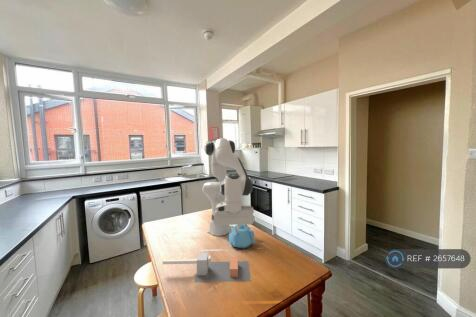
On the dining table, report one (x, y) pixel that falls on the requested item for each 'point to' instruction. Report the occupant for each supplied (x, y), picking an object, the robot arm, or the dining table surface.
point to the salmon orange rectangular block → (233, 267)
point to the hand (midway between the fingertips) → (233, 232)
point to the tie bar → (185, 261)
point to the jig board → (219, 270)
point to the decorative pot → (241, 236)
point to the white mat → (212, 250)
